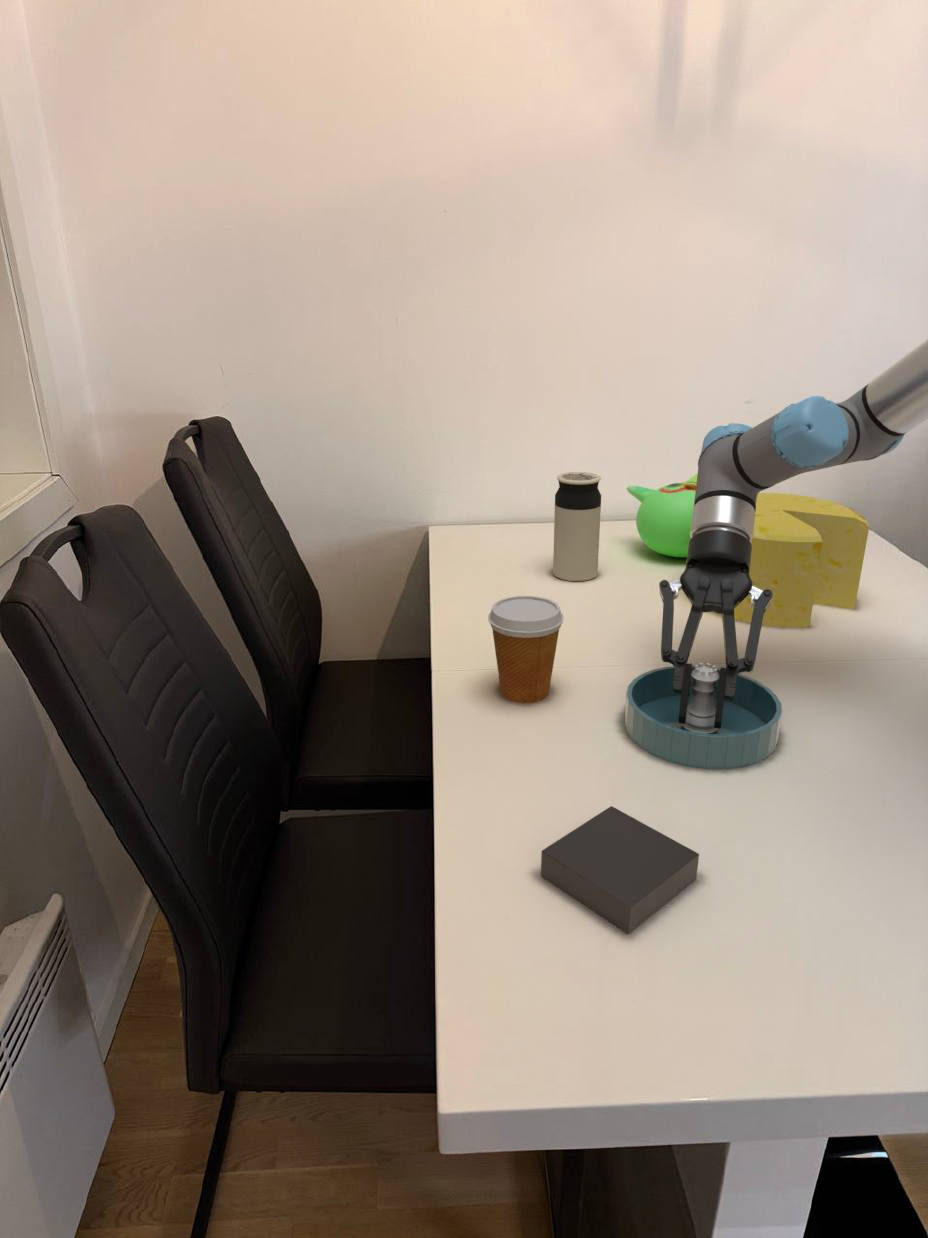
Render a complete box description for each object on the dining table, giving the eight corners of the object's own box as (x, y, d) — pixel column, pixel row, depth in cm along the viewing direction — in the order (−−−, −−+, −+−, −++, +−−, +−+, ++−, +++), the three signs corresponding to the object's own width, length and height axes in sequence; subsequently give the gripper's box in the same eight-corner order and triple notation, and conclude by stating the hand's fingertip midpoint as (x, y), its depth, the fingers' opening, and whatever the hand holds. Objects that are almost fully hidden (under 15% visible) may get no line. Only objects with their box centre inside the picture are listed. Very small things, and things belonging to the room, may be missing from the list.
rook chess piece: (724, 736, 98) (731, 675, 95) (687, 738, 98) (693, 677, 95) (711, 717, 103) (718, 658, 99) (675, 719, 102) (681, 660, 99)
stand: (696, 880, 76) (699, 853, 75) (628, 936, 70) (630, 907, 69) (609, 830, 83) (611, 805, 82) (540, 877, 77) (541, 850, 76)
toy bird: (656, 572, 152) (662, 493, 146) (618, 545, 167) (623, 472, 161) (745, 563, 155) (755, 485, 150) (701, 537, 171) (708, 465, 165)
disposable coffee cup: (491, 675, 115) (490, 593, 110) (561, 677, 114) (563, 595, 109) (485, 709, 106) (485, 622, 101) (561, 711, 105) (564, 624, 100)
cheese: (873, 633, 126) (891, 537, 120) (693, 623, 130) (703, 530, 124) (835, 574, 149) (848, 491, 143) (684, 567, 154) (691, 487, 148)
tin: (810, 750, 96) (815, 717, 94) (681, 784, 90) (685, 750, 88) (713, 685, 111) (716, 655, 109) (597, 711, 105) (599, 680, 103)
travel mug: (587, 585, 146) (591, 484, 139) (545, 578, 150) (548, 479, 143) (604, 571, 153) (609, 474, 146) (563, 565, 156) (566, 469, 149)
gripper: (786, 560, 105) (771, 741, 97) (654, 550, 110) (629, 721, 102) (794, 531, 98) (778, 723, 90) (652, 522, 103) (626, 703, 95)
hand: (699, 722), depth 96 cm, fingers closed on rook chess piece, 3 cm apart
